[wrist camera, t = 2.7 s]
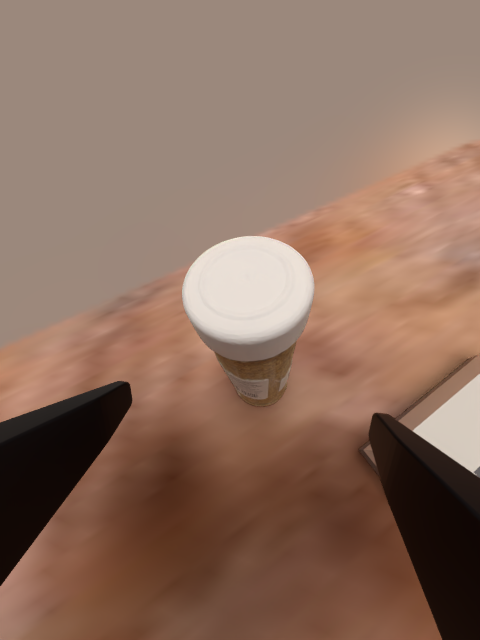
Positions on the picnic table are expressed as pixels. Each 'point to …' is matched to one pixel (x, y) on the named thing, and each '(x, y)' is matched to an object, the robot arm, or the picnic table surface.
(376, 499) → the picnic table surface
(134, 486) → the picnic table surface
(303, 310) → the sprinkles bottle
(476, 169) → the picnic table surface
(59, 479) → the robot arm
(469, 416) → the socket block
